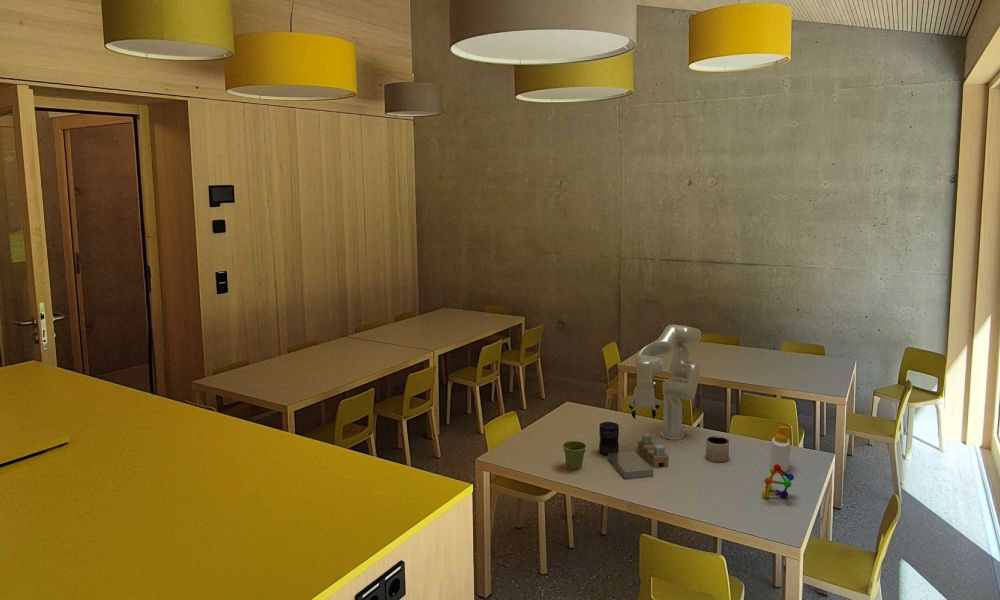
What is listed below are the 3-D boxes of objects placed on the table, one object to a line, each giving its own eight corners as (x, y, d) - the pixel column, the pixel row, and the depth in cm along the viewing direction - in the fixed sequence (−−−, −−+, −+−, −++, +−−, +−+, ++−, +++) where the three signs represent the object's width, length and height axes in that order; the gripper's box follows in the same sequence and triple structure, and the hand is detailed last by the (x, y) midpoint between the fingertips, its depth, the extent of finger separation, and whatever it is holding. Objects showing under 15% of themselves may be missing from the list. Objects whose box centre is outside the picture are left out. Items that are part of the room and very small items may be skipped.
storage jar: (618, 457, 345) (618, 429, 343) (598, 456, 347) (598, 428, 345) (618, 449, 355) (619, 422, 352) (599, 448, 357) (599, 421, 354)
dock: (634, 456, 346) (634, 450, 346) (653, 476, 323) (653, 470, 323) (607, 458, 344) (607, 452, 343) (624, 479, 321) (624, 472, 320)
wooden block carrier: (637, 450, 354) (637, 440, 353) (650, 449, 355) (650, 439, 354) (654, 468, 333) (654, 457, 332) (668, 467, 334) (668, 456, 333)
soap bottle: (789, 473, 324) (791, 432, 320) (770, 471, 326) (772, 430, 323) (788, 462, 336) (790, 423, 332) (770, 460, 339) (772, 421, 335)
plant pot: (571, 474, 327) (571, 451, 325) (557, 465, 337) (557, 443, 335) (591, 469, 332) (591, 447, 330) (577, 460, 343) (577, 439, 341)
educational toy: (794, 506, 294) (796, 475, 290) (761, 502, 298) (763, 471, 294) (792, 488, 308) (794, 457, 304) (761, 484, 312) (762, 454, 308)
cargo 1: (649, 440, 353) (649, 433, 352) (652, 443, 349) (652, 436, 348) (641, 441, 352) (641, 434, 351) (644, 444, 348) (644, 436, 347)
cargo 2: (661, 452, 338) (661, 444, 337) (664, 455, 334) (664, 447, 333) (653, 453, 337) (653, 445, 336) (656, 456, 333) (657, 448, 332)
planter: (729, 456, 345) (730, 437, 343) (727, 464, 335) (727, 445, 334) (707, 452, 350) (708, 434, 348) (704, 460, 340) (704, 442, 338)
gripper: (660, 382, 344) (659, 415, 347) (625, 382, 344) (624, 415, 347) (663, 386, 337) (662, 420, 340) (628, 387, 337) (627, 420, 339)
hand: (643, 417), depth 343 cm, fingers open, 9 cm apart
